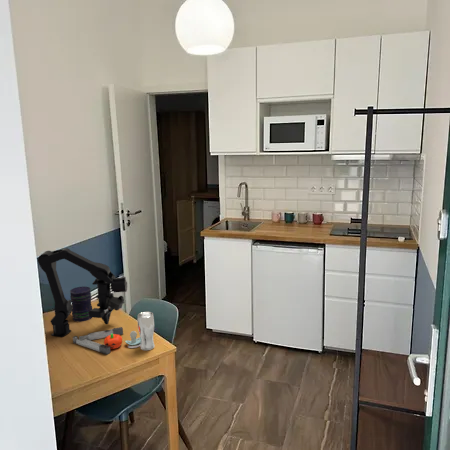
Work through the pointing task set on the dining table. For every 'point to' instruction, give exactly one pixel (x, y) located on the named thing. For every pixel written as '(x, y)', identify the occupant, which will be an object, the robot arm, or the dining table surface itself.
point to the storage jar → (81, 303)
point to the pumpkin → (113, 341)
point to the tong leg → (102, 334)
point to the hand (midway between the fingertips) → (106, 324)
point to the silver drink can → (146, 330)
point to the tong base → (92, 345)
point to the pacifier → (133, 340)
